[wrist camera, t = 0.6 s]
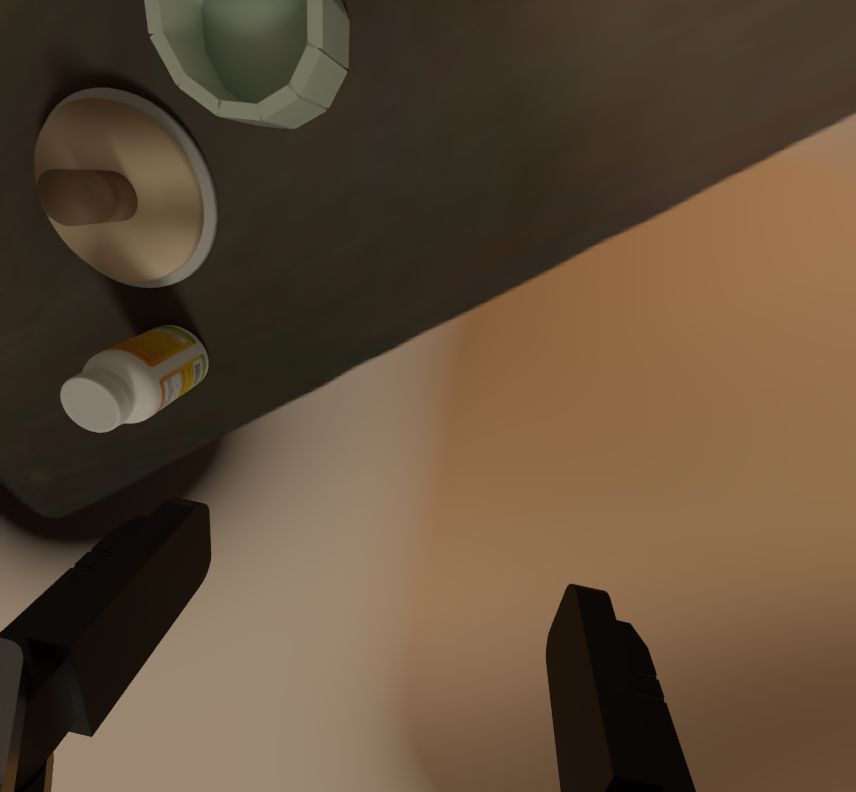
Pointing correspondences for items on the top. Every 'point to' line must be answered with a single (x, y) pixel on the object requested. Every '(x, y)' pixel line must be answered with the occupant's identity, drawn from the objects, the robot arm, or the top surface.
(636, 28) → the top surface
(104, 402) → the supplement bottle
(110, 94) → the mat
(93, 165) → the lid
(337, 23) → the bowl
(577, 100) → the top surface
